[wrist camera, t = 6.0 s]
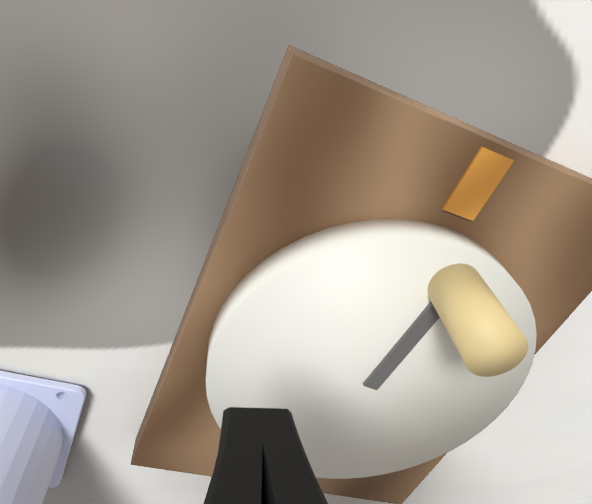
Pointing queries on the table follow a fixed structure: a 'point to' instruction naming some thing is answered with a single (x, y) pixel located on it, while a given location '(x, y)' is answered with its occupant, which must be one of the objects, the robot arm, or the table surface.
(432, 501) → the table surface
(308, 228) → the brown flat wooden board
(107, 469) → the table surface
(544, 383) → the table surface
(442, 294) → the dial
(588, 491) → the table surface
